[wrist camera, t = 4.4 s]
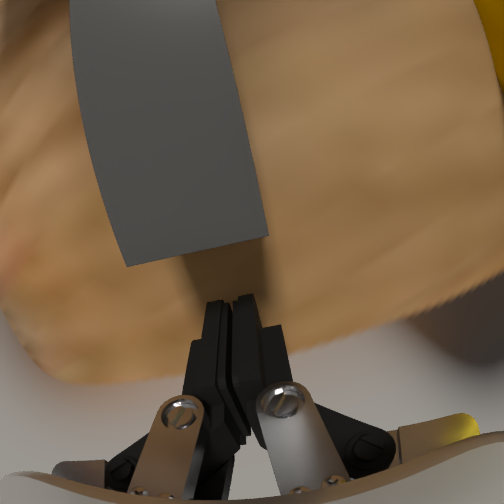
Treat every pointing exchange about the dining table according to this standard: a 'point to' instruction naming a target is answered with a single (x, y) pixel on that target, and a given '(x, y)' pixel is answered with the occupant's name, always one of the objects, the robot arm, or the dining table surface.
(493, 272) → the dining table surface
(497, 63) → the element tile
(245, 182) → the grey and white bar
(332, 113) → the dining table surface
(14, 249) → the dining table surface
